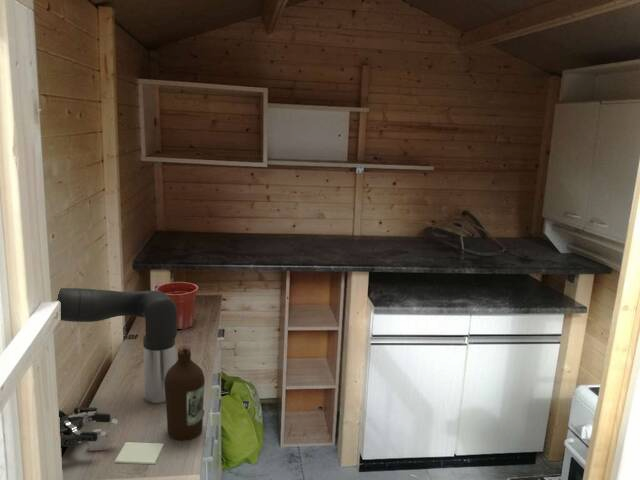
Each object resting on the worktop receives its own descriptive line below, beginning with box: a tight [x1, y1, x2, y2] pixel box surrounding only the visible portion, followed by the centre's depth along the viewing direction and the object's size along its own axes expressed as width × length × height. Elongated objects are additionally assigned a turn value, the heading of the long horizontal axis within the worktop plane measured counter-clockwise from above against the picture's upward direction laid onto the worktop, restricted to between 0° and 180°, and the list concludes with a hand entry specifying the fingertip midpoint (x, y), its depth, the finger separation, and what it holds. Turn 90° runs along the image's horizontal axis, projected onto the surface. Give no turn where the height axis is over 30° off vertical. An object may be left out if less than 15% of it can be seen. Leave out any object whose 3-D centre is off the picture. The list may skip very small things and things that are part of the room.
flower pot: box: [155, 281, 199, 330], centre depth 220 cm, size 16×16×16 cm
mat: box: [114, 441, 165, 465], centre depth 139 cm, size 8×10×1 cm
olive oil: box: [164, 344, 206, 441], centre depth 147 cm, size 11×11×25 cm
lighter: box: [88, 418, 119, 452], centre depth 140 cm, size 7×2×8 cm, turn 102°
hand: (103, 427), depth 139 cm, fingers open, 8 cm apart
